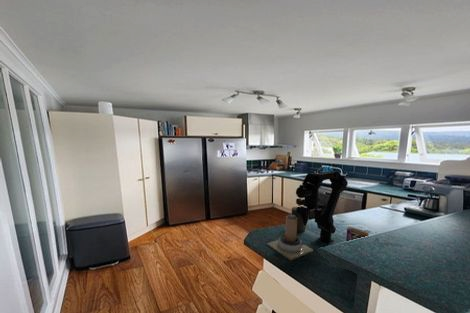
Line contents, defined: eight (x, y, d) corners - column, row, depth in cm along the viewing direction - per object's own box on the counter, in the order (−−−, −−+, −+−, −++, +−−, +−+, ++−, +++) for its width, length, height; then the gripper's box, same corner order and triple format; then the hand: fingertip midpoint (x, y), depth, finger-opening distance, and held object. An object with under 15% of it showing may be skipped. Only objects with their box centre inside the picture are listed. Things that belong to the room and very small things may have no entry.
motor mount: (288, 238, 125) (289, 229, 124) (313, 251, 110) (313, 242, 110) (267, 244, 115) (267, 235, 115) (290, 260, 101) (291, 250, 101)
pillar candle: (292, 231, 134) (294, 209, 132) (288, 225, 143) (290, 204, 142) (307, 232, 134) (309, 210, 132) (302, 226, 143) (304, 205, 142)
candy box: (366, 261, 102) (369, 231, 101) (364, 265, 99) (367, 234, 98) (346, 254, 109) (349, 226, 107) (344, 257, 105) (346, 228, 104)
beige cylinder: (294, 238, 115) (296, 214, 114) (297, 244, 109) (298, 218, 108) (283, 238, 116) (285, 213, 115) (285, 243, 110) (287, 217, 109)
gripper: (311, 191, 125) (309, 216, 126) (289, 194, 115) (287, 221, 116) (327, 195, 116) (325, 222, 117) (305, 199, 106) (303, 229, 107)
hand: (310, 223), depth 114 cm, fingers open, 9 cm apart
